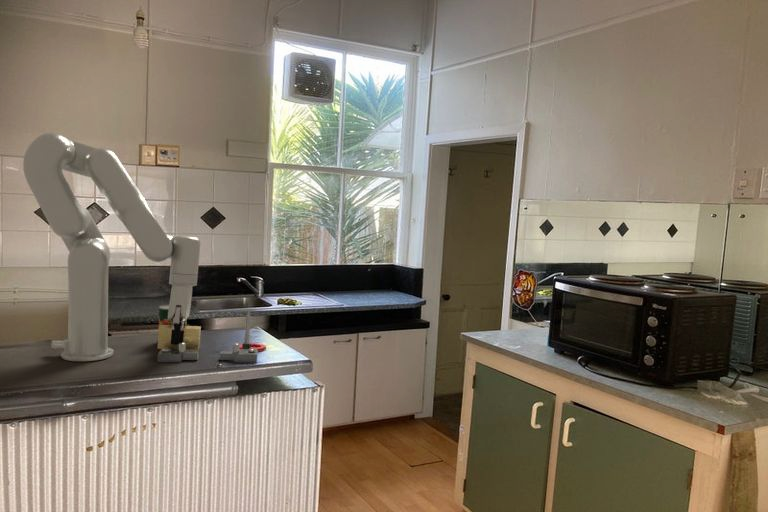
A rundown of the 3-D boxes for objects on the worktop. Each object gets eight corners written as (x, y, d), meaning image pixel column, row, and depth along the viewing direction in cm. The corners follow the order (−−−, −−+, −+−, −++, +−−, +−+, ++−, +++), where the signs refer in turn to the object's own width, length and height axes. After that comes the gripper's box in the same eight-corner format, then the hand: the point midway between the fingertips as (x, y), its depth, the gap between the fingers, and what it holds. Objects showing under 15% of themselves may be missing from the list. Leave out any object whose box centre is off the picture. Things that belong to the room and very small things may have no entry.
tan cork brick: (157, 348, 163) (158, 327, 163) (160, 345, 167) (161, 324, 167) (198, 349, 165) (199, 329, 165) (199, 346, 169) (200, 326, 169)
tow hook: (243, 345, 180) (231, 351, 171) (246, 304, 179) (234, 307, 170) (269, 348, 179) (258, 354, 169) (272, 306, 178) (261, 310, 169)
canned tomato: (152, 343, 175) (153, 307, 174) (167, 338, 182) (168, 303, 182) (176, 346, 173) (177, 309, 172) (190, 340, 181) (191, 305, 180)
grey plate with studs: (157, 362, 155) (157, 345, 155) (161, 356, 161) (162, 340, 161) (256, 362, 160) (257, 346, 160) (257, 356, 166) (257, 341, 166)
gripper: (174, 275, 173) (169, 335, 174) (164, 281, 156) (158, 348, 157) (200, 277, 174) (195, 337, 175) (193, 284, 158) (187, 350, 159)
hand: (178, 341), depth 166 cm, fingers closed on tan cork brick, 4 cm apart
